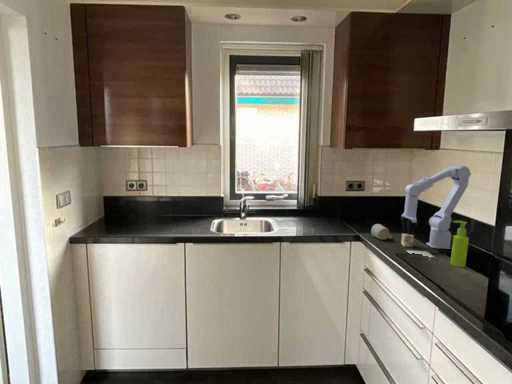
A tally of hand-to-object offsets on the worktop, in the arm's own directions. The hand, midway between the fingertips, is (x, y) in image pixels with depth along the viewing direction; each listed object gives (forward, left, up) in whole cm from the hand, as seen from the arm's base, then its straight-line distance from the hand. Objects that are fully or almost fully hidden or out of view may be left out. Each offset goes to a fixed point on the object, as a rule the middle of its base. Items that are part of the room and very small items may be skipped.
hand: (407, 232), depth 178 cm
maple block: (0, 0, -7) cm, 7 cm away
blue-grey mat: (0, +15, -7) cm, 17 cm away
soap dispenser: (-13, +26, -7) cm, 30 cm away
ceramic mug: (+10, -12, -7) cm, 17 cm away
